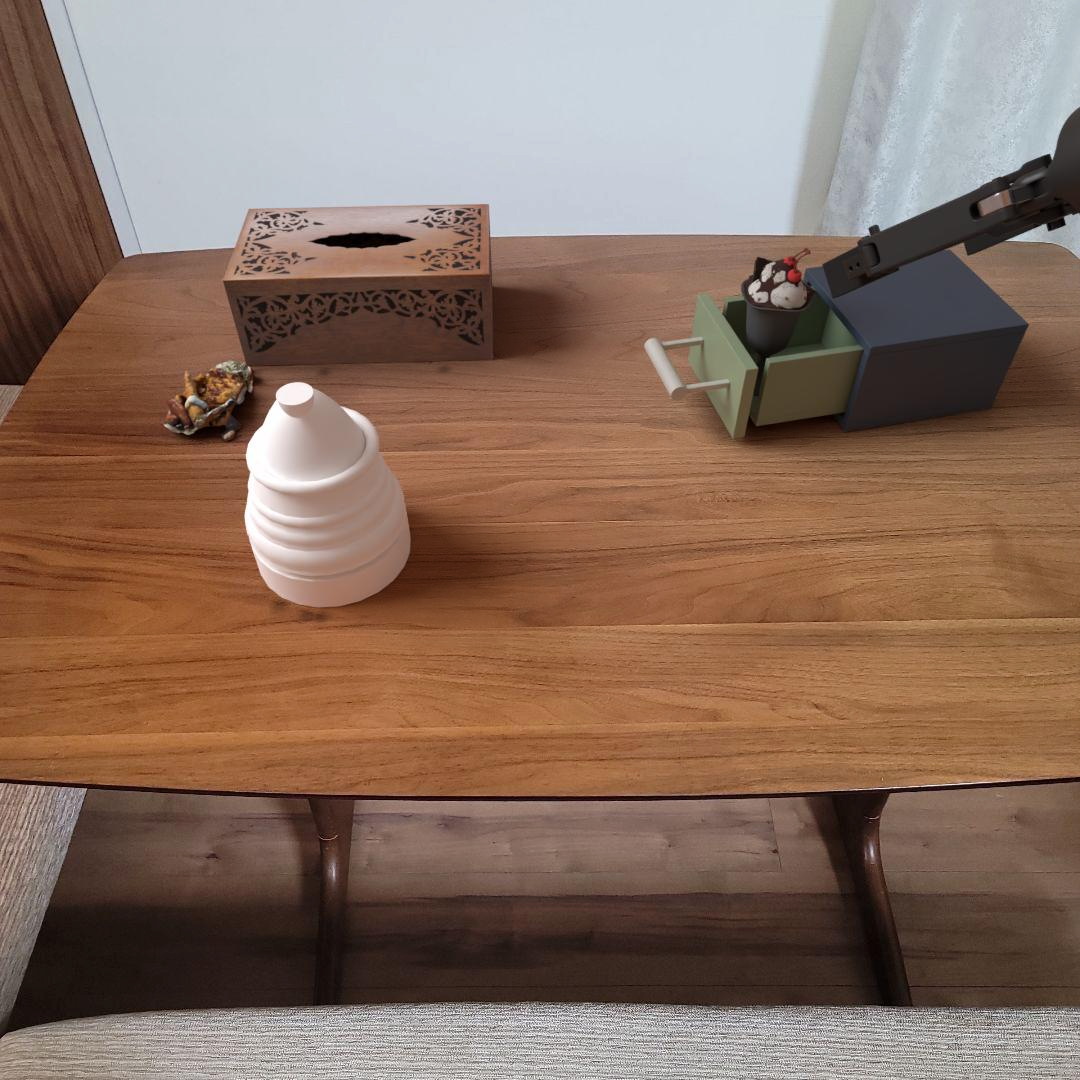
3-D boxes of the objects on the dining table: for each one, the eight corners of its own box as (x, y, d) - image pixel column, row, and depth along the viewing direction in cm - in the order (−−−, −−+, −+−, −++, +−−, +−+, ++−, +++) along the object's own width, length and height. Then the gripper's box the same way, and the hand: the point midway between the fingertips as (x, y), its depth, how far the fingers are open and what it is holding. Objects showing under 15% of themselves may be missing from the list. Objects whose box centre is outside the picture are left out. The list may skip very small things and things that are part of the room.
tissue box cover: (492, 285, 107) (488, 204, 100) (493, 359, 98) (489, 274, 90) (268, 290, 107) (248, 208, 99) (246, 365, 97) (222, 280, 90)
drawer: (674, 448, 86) (683, 379, 81) (633, 369, 95) (639, 301, 89) (874, 416, 89) (897, 347, 84) (818, 342, 98) (835, 275, 92)
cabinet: (844, 432, 89) (871, 347, 82) (786, 350, 98) (805, 268, 91) (991, 408, 92) (1029, 324, 85) (921, 331, 101) (950, 249, 94)
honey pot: (418, 594, 75) (393, 421, 62) (257, 619, 74) (196, 447, 61) (403, 487, 84) (377, 316, 71) (258, 507, 82) (204, 336, 69)
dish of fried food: (262, 367, 97) (255, 337, 94) (235, 442, 88) (225, 412, 86) (195, 366, 97) (186, 337, 94) (161, 441, 89) (150, 412, 86)
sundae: (794, 405, 89) (830, 263, 78) (724, 398, 90) (749, 257, 79) (793, 364, 93) (826, 225, 82) (725, 358, 94) (749, 220, 83)
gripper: (1016, 257, 48) (785, 348, 69) (1318, 158, 56) (1030, 266, 76) (975, 116, 48) (754, 250, 68) (1286, 36, 55) (1005, 177, 76)
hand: (900, 259), depth 72 cm, fingers open, 13 cm apart
